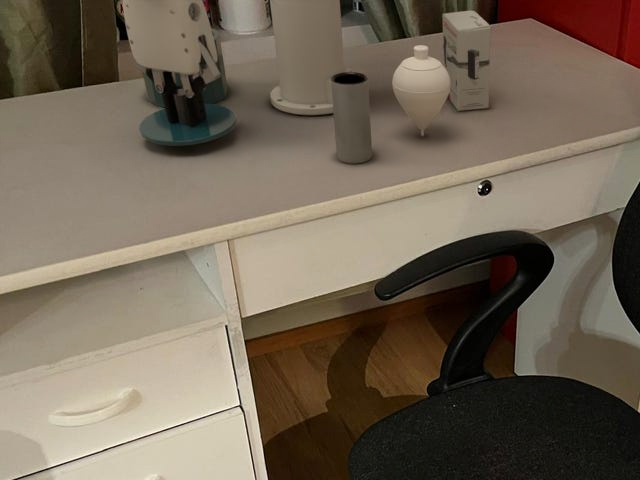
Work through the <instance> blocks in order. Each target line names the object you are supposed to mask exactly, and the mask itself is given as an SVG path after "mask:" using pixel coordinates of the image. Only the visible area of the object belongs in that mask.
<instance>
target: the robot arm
mask: <svg viewBox="0 0 640 480" xmlns="http://www.w3.org/2000/svg"><path fill="white" fill-rule="evenodd" d="M269 5H270V14H271V23H272V31H273V39H274V49H275V57H276V65H277V72H278V83H279V84H278V85H277V86H275V87H274V88H273V89H272V90H271V92H270V94H269V98H270V104H271V105H272V106H273V107H274V108H275V109H276V110H279V111H281V112H284V113H288V114H292V115H297V116H299V115H300V116H320V115H331V114H334V113H333V101H332V88H331V78H332V76H334V75H336V74H339V73H344V72H352V69H351V68H347V67H345V58H344V57H345V55H344V41H343V28H342V11H341V0H269ZM122 9H123V10H122V11H123V17H124V23H125V29H126V34H127V38H128V42H129V46H130V49H131V54H132V56H133V60H132V61H133V62H132V64H133V67H134V68H135V69H137V70H138V71H140V72H141V73H142V72H143V73H145V74H147V76H148V77H149V78H150V79H151V81H152V82H153V83H154V84H155V88H156V90H157V91H158V92H159V93H162V98H163V102H164V106H165V107H164V109H165V110H166V114H167V118H168V122H169V123H175V122H177V121H178V118H177V113H176V109H175V105H174V100H173V96H172V92H173V91H175V90H178V89H181V86H178V85H177V86H176V77H175V73H179V74H180V77H181V81H182V85H183V89H184V93H185V95H186V96H185V97H183V99H182V100H183V105H184V109H185V114H186V118H187V123H188V125H189V126H190V127H195V126H197V125H198V124H200V123H201V122H203V121H205V120H206V118H207V116H206V110H205V106H204V101H203V96H202V91H204V90H205V87H206V86H207V84H208V83H210V82H212V81H214V80H216V79H218V78H219V77H220V76H221V74H220V72H219V70H218V68H217V67H216V65H215V63H216V62H217V60H218V59H217V51H216V46H215V42H214V38H213V34H212V30H211V28H212V26H211V23H210V20H209V17H208V13H207V10H206V7H205V4H204V1H203V0H122ZM200 66H201V67H200ZM201 68H202V69H203V74H202V71H201ZM191 76H193V82H192V80H191Z"/></svg>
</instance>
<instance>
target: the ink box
mask: <svg viewBox="0 0 640 480" xmlns="http://www.w3.org/2000/svg"><path fill="white" fill-rule="evenodd" d="M442 58H443V59H442V61H443V63H442V65H443V66H444V67H445V69H446V70H447V72H448V74H449V77H450V82H451V85H450V92H449V94H448V97H447V99H449V101H450V102H451V104H453V106H454V108H455V109H456V111H458V112H462V111H471V110H472V111H473V110H480V109H481V110H482V109H489V107H490V106H489V105H490V64H491V63H490V61H491V60H490V58H491V27H490V24H489V23H488V22H487V21H486V20H485V19H484V18H483V17H481V15H479V13H477V12H476V11H475V10H463V11H455V12H454V11H453V12H446V13H442Z"/></svg>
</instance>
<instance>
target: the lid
mask: <svg viewBox="0 0 640 480" xmlns="http://www.w3.org/2000/svg"><path fill="white" fill-rule="evenodd" d="M172 96H173V100H174V105H175V109H176V113H177V118H178V121H177V122H175V123H169V122H168V118H167V114H166V110H165V108H162V109H159V110H157V111H154V112H152V113H151V114H149V115H147V116H145V117H144V118H143V119H142V121H141V122H140V123H139V126H138V127H139V128H138V129H139V133H140V135H141V137H142V138H143V139H145V140H146V141H148V142H150V143H153V144H156V145H160V146H161V145H162V146H170V147H171V146H172V147H173V146H174V147H176V146H177V147H179V146H181V147H182V146H191V145H192V146H193V145H199V144H203V143H207V142H211V141H214V140H217V139H219V138H222V137H224V136H226V135H227V134H229V133H230V132H231V131H233V130H234V128H235V127H236V125H237V123H238V122H237V116H236V114H235V112H234V111H233V110H232V109H230V108H229V107H226V106H224V105H219V104H216V103H213V104H206V103H204V106H205V110H206V116H207V118H206V120H205V121H203V122H201V123H200V124H198V125H197V126H195V127H190V126H189V125H188V123H187V118H186V114H185V109H184V105H183V100H182V99H183V97H185V96H186V95H185V93H184V89H178V90H175V91H173V92H172Z"/></svg>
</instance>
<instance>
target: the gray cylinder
mask: <svg viewBox="0 0 640 480" xmlns="http://www.w3.org/2000/svg"><path fill="white" fill-rule="evenodd" d="M331 88H332V101H333V113H332V114H333V121H334V122H333V123H334V136H335V147H336V149H335V150H336V158H337V159H338V160H339V161H340V162H342V163H345V164H353V165H354V164H361V163H365V162H368V161H370V160H371V159H372V157H373V147H372V146H373V145H372V126H371V125H372V124H371V108H370V106H371V105H370V89H369V77H368V76H367V75H366V74H364V73H361V72H356V71H351V72H344V73H339V74H336V75H334V76H332V78H331Z"/></svg>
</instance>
